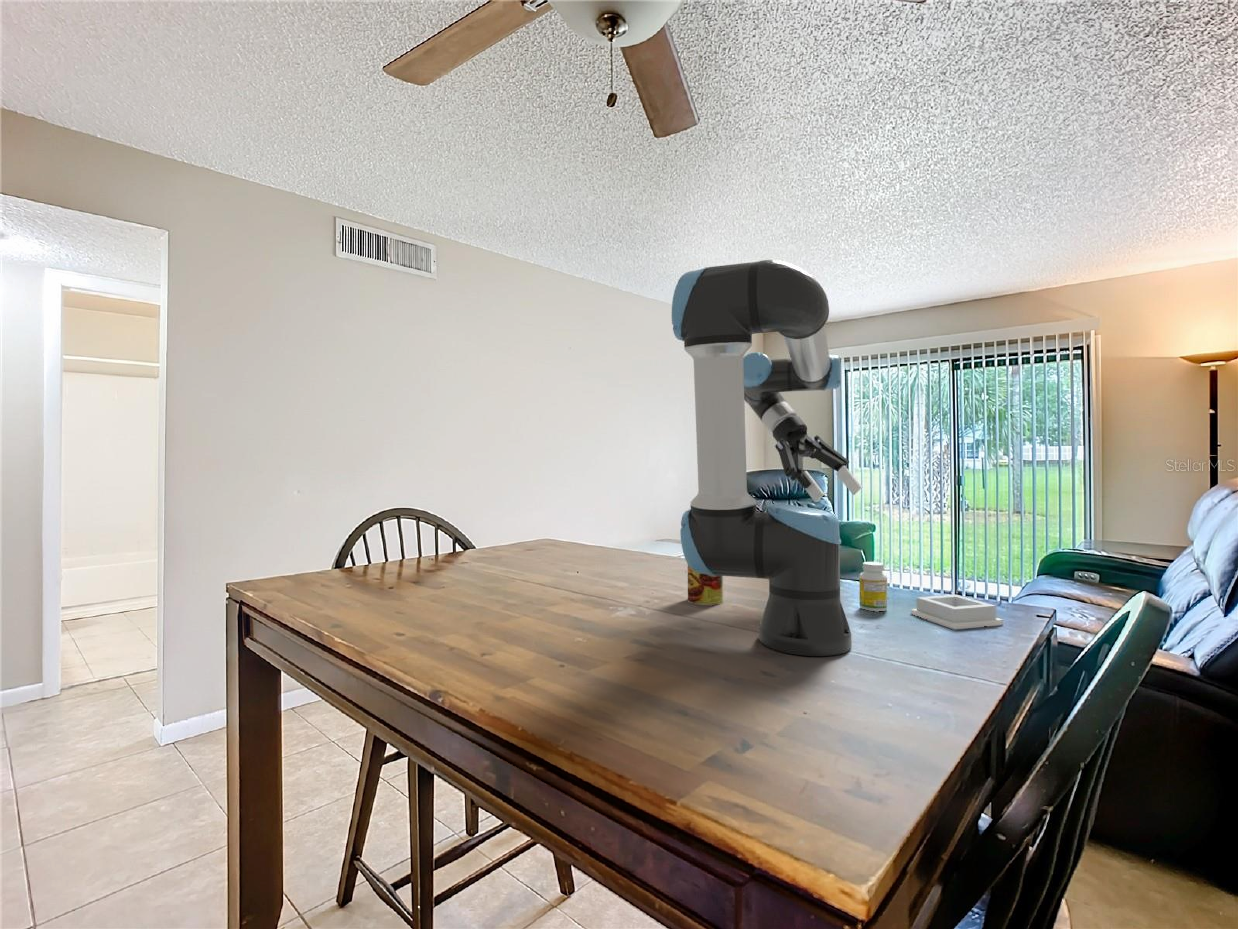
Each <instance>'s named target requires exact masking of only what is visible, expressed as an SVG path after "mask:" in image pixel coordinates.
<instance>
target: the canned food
mask: <svg viewBox="0 0 1238 929" xmlns="http://www.w3.org/2000/svg"><path fill="white" fill-rule="evenodd" d="M687 601H688V603H690V602H692V603H691V604H693V603H695V604H694V605H699V606H716V605H720V603H721V604H723V603H724V576H712V575H708V574H700V573H697V572H695V571H693V570H692V569H691V568H690V567H689V565H688V564H687ZM722 602H723V603H722Z"/></svg>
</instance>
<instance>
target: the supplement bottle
mask: <svg viewBox="0 0 1238 929" xmlns="http://www.w3.org/2000/svg"><path fill="white" fill-rule="evenodd" d="M862 570H863V572H861V573H859V607H860V609H861V608H862V610H863V609H865V610H864V611H866V610H869V611H868V612H871V611H875V612H874V613H880V612H879V611H884V612H886V611H888V576H887V575H886V574H885V573H884V570H885V564H884V563H883V562H876V561H865V562H863V563H862Z"/></svg>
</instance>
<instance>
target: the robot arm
mask: <svg viewBox="0 0 1238 929" xmlns="http://www.w3.org/2000/svg"><path fill="white" fill-rule="evenodd" d="M829 315H830V306H829V300H828V296H827V294H826V292H825V290H824V288H823V287H822V285H821V284H820V283H819V282H818V281H817V280H816V278H814V276H812V275H811V274H810V273H809V272H807V271H806V270H804V269H802V268H801V267H800V266H797V265H794V264H792V263H790V262H786V261H782V260H777V259H765V260H759V261H751V262H743V263H742V262H741V263H735V264H726V265H716V266H707V267H703V268H701V269H696V270H690V271H688V272H685V273H684V274H682V275H681V276H680V277H679V279H678V281H677V283H676V285H675V288H674V292H673V296H672V302H671V325H673V326H672V331H673V335H674V336H675V338H676V339H677V341H678V340H679V341H682V342H683V344H684V347H683V348H684V351H685V352H686V353H687V354H688V355H689V356H691V358H692V360H693V380H694V382H693V383H694V384H693V385H694V405H695V406H694V408H695V433H696V435H695V436H696V437H695V438H696V458H697V460H696V462H697V483H698V484H697V486H698V487H697V488H698V489H697V490H698V492H697V495H695V497H694V498H693V499H692V500H691V501H690V509H687V510H686V511H684V513H683V514H682V515H681V520H680V526H681V528H680V534H679V535H680V542H681V543H680V544H681V548H682V553H683V557H684V559H685V562H686V564H687V566H688V565H689V567H690V568H691V569H692V570H693V571H695V572H697V573H700V574H708V575H712V576H723V577H732V578H733V577H734V578H749V579H750V578H751V579H764V580H768V584H769V586H768V598H767V602H766V605H765V607H764V611H763V613H762V617H761V620H760V622H759V625H758V633H759V634H758V640H759V642H760V643H761V644H762V645H763V646H765V647H767V648H769V649H772V650H775V651H778V652H781V653H786V654H791V655H797V656H805V657H806V656H808V657H828V656H829V657H830V656H836V655H837V656H838V655H841V654H845V653H846V652H849V651H850V650H851V649H852V645H853V644H852V641H853V640H852V632H851V628H850V626H849V622H848V619H847V617H846V614H845V610H844V608H843V605H842V601H841V569H840V568H841V567H840V566H841V560H840V559H841V558H840V550H841V549H840V545H841V544H842V540H841V537H840V522H839V519H838V518H837V516H836V515H835V514H833V513H831V512H829V511H826V510H823V509H818V508H813V507H806V506H802V505H801V506H799V505H794V504H793V505H792V504H781V503H772V504H770V505H768V508H767V512H766V511H763V512H762V511H757V501H756V499H755V498H754V497H753V496H752V495H751V494H749V493H748V485H747V483H748V481H747V480H748V479H747V477H748V476H747V449H746V448H747V447H746V445H747V442H746V440H747V439H746V412H745V411H746V409H745V408H746V406H745V403H746V404H748V406H749V407H750V409H752V411H753V412H754V413H755V415H756V416H757V417H758V418H759V420H760V421H761V422H762V424H764V426H765V427H766V428H767V430H768V431H769V433H770V434H772V437H773V438H774V440H775V441H776V442H777V443H776V444H775V445H774V448H775V449H776V451H777V452H778V454H779V457H780V462H781V466H782V469H783V471H784V475H785V476H786V477H787V478H790V480H791V481H796V480H797V481H798V483H800V485H801V487H803V489H804V490H805V491H806V493H807V494H808V495H809V497H810V498H811V499H812V501H813V502H814V503H818V501H819V500H821V498H822V497H823V496H825V492H824V491H823V489H821V487H820V486H819V485H818V483H817V482H816V481H815V480H814V478H813V477H812V476H811V474H810V473H809V472H808V471H807V470H804V460H803V459H804V458H805V457H807V458H810V459H815V460H817V461H819V462H821V463H823V464H824V465H826V467H829V468H830V469H832V470H834V471H836V473H835V474H836V476H837V477H838V478H839V480H840V481H841V482H842V483H843V484H844V485H845V487H846V488H847V490H848V491H849V492H850V493H851V494H852V495H853V496H855V495H856V494H857V493H858V492H860V491H861V489H862V488H863V485H862V484H861V483H860V482H859V481H858V480H857V478H856V477H855V476H854V475H853V474H852V472H851V471H850V470H849V468H848V467H847V466H848V465H849V463H850V461H849V460H848V459H847V458H846V457H845V456H844V455H842V454H841V453H839V451H837V450H836V449H834V448H833V447H831V446H830V445H829V444H828V443H826V442H825V441H824V440H823V439H822V438H821V437H820V436H819V435H817V434H816V435H815V436H814V437H813V438H812V437H810V436H809V435H808V433H807V432H808V427H807V425H806V424H805V422H804V421H803V420H802V419H801V418H800V416H798V413H797V412H796V411H795V410H794V408H793V407H792V406H791V405H790V404H789V403H788V402H787V401H786V399H785V398H784V397H783V395H782V394H781V393H782V392H784V393H786V392H787V393H788V392H807V391H808V392H809V391H811V392H812V391H813V392H814V391H827V390H834V389H835V390H836V389H838V388H840V386H841V382H842V381H841V380H842V379H841V378H842V365H841V364H842V363H841V357H840V356H839V355H836V354H835V355H831V354H830V353H829V352H830V351H829V342H828V338H827V331H826V324H827V322H828V319H829ZM774 332H778V334H779V335H781V336H782V337H783V338H784V341H785V344H786V347H787V351H788V354H789V358H775V359H770V357H769V356H767V354H764V353H761V352H759V351H754V352H749V353H748V354H746V353H747V351H748V350H750V348H751V347H752V346H753V338H752V335H755V334H764V333H774ZM745 354H746V355H745Z"/></svg>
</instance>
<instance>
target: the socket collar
mask: <svg viewBox="0 0 1238 929" xmlns="http://www.w3.org/2000/svg"><path fill="white" fill-rule="evenodd" d="M912 614H913V615H912ZM910 615H912V616H914V615H915V617H917V616H919V617H918V618H920V617H921V619H922V620H926V619H927V620H926V621H929V622H932V623H935V624H938V625H941V626H943V627H946V628H949V629H951V630H964V629H965V630H966V629H973V628H974V629H975V628H985V627H984V626H987V627H995V626H996V627H997V626H1003V625H1004V619H1002V618H998V617H997V605H996V604H995V605H994V604H991V603H987V602H984V601H980V600H977V599H973V598H971V597H970V598H969V597H966V596H962V595H959V594H947V595H946V594H944V595H932V596H931V595H930V596H920V597H916V608H911V609H910Z"/></svg>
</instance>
